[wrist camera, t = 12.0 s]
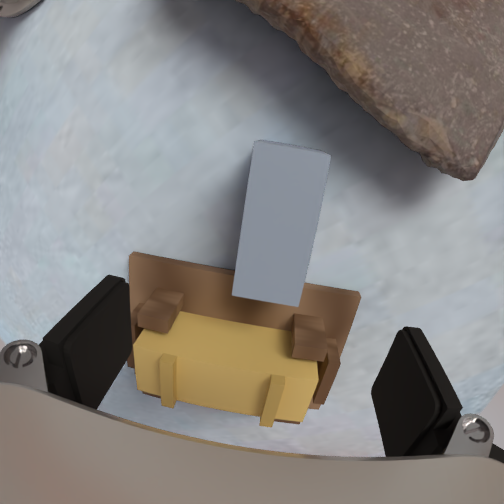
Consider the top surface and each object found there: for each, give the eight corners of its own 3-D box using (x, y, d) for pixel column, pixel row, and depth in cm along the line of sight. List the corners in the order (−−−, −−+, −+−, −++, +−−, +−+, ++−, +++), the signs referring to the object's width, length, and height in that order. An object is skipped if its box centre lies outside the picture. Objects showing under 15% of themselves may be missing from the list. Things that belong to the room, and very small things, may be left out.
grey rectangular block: (242, 261, 27) (231, 295, 22) (261, 139, 24) (254, 141, 18) (296, 270, 27) (298, 307, 21) (320, 150, 23) (331, 155, 18)
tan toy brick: (159, 349, 30) (133, 397, 24) (158, 306, 28) (128, 352, 22) (301, 375, 30) (302, 430, 23) (314, 334, 28) (319, 389, 21)
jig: (138, 368, 33) (119, 401, 28) (133, 251, 28) (104, 277, 23) (318, 402, 32) (320, 441, 27) (359, 291, 27) (372, 326, 22)
